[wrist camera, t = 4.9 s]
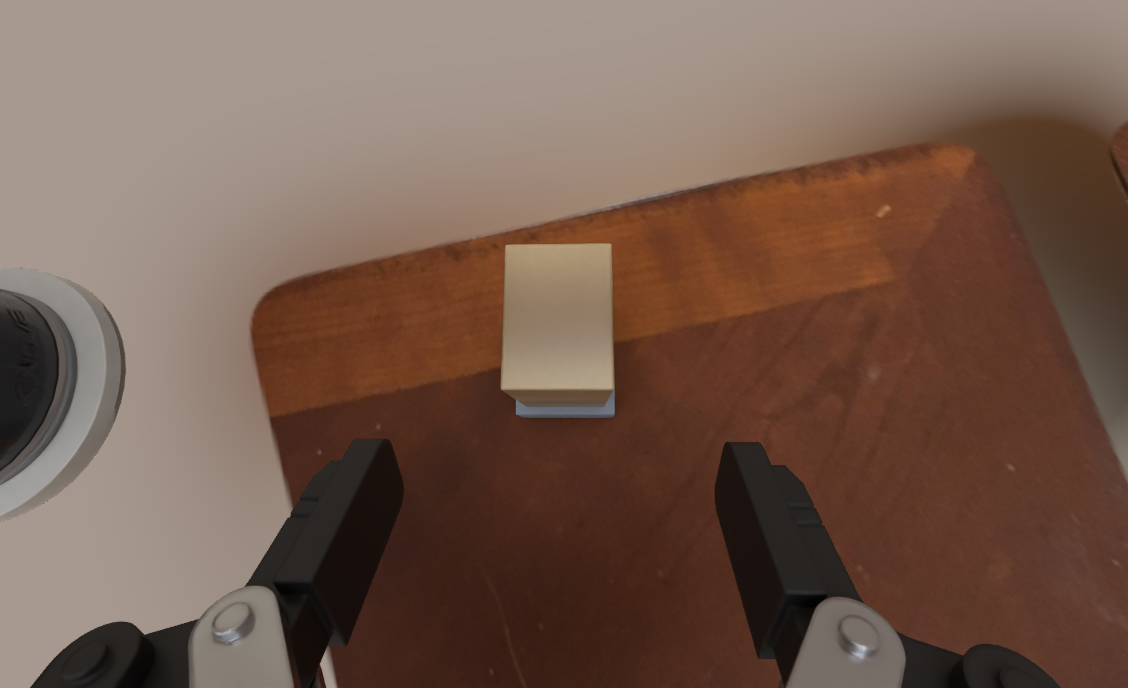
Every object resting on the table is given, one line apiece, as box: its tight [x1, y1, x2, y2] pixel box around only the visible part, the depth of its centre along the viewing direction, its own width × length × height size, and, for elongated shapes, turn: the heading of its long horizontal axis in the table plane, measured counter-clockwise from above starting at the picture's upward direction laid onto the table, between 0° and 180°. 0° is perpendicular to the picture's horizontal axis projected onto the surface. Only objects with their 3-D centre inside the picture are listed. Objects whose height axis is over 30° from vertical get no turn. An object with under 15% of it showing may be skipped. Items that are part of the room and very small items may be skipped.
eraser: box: [501, 244, 615, 418], centre depth 18 cm, size 5×4×8 cm
